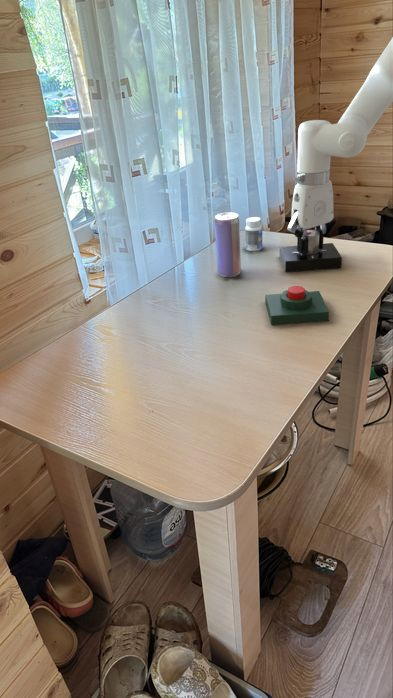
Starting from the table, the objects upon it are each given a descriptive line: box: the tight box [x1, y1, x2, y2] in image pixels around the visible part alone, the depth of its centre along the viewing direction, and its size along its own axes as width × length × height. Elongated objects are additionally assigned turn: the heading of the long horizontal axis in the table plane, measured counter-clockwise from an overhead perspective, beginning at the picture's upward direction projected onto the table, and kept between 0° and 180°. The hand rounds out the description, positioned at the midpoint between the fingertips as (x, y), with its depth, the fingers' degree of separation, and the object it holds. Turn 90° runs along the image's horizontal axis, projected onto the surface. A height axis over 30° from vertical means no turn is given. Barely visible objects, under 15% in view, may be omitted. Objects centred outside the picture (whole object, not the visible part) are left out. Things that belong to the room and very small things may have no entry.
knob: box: [306, 229, 320, 255], centre depth 130 cm, size 4×4×5 cm
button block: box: [264, 289, 330, 326], centre depth 111 cm, size 12×10×4 cm
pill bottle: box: [244, 216, 263, 252], centre depth 143 cm, size 5×5×8 cm
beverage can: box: [214, 211, 242, 279], centre depth 128 cm, size 6×6×15 cm
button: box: [287, 285, 306, 300], centre depth 109 cm, size 4×4×2 cm
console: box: [279, 242, 343, 273], centre depth 133 cm, size 14×10×3 cm
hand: (309, 249), depth 131 cm, fingers closed on knob, 4 cm apart
